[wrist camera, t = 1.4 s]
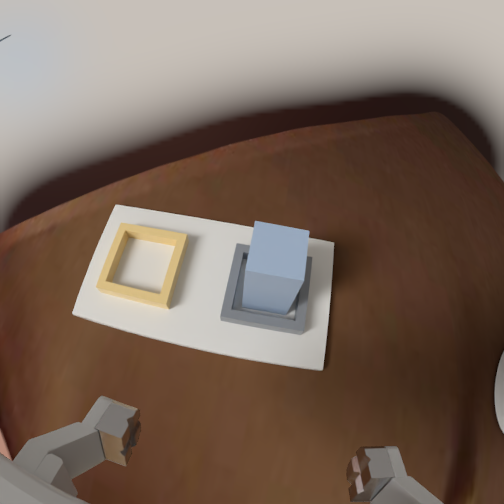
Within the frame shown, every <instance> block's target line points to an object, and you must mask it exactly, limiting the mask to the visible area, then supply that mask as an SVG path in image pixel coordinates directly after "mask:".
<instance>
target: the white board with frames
mask: <svg viewBox="0 0 504 504" xmlns="http://www.w3.org/2000/svg"><path fill="white" fill-rule="evenodd" d="M253 230H254V228H253V227H248V226H242V225H237V224H231V223H225V222H219V221H214V220H208V219H202V218H196V217H190V216H184V215H178V214H172V213H166V212H160V211H154V210H147V209H141V208H135V207H128V206H122V205H115V207H114V209H113V212H112V214H111V216H110V218H109V220H108V223H107V225H106V227H105V229H104V232H103V234H102V236H101V239H100V241H99V243H98V246H97V248H96V250H95V253H94V255H93V258H92V260H91V263H90V265H89V268H88V271H87V273H86V276H85V278H84V281H83V284H82V287H81V289H80V292H79V295H78V298H77V301H76V304H75V307H74V309H73V313H72V314H73V315H75V316H78V317H81V318H84V319H87V320H90V321H93V322H96V323H100V324H103V325H106V326H109V327H113V328H116V329H119V330H123V331H126V332H130V333H134V334H137V335H141V336H144V337H148V338H152V339H156V340H160V341H164V342H168V343H172V344H176V345H180V346H184V347H189V348H193V349H197V350H202V351H207V352H211V353H216V354H221V355H226V356H231V357H236V358H241V359H247V360H252V361H258V362H264V363H270V364H276V365H283V366H289V367H296V368H303V369H311V370H319V371H322V370H323V365H324V357H325V348H326V339H327V330H328V319H329V309H330V297H331V284H332V270H333V254H334V243H333V242H328V241H323V240H318V239H313V238H309V239H308V249H307V259H306V268H305V277H304V282H303V284H302V286H301V288H300V290H299V292H298V293H297V295H296V297H295V299H294V301H293V303H292V305H291V306H290V308H289V310H288V312H287V314H286V315H281V314H276V313H270V312H264V311H259V310H253V309H248V308H243V307H242V300H243V289H244V277H245V269H246V264H247V259H248V254H249V249H250V244H251V239H252V235H253Z"/></svg>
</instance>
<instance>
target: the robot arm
mask: <svg viewBox="0 0 504 504" xmlns="http://www.w3.org/2000/svg"><path fill="white" fill-rule="evenodd" d="M495 409H496V415H497V419H498V423H499V425H500V428H501V430H502V432H503V433H504V352H503V354H502V356H501V359H500V362H499V365H498V369H497V374H496V381H495ZM139 417H140V410H139V409H136V408H133V407H131V406H128V405H125V404H123V403H120V402H117V401H115V400H112V399H109V398H107V397H104V396H101V397H99V398H98V400H97V401H96V403H95V404H94V405H93V407H92V408H91V410H90V411H89V413H88V414H87V416H86V417H85V419H84V420H83V422H82V423H79V422H77V423H74V424H71V425H69V426H66V427H63V428H61V429H58V430H55V431H52V432H50V433H47V434H44V435H41V436H38V437H36V438H33V439H30V440H28V442H27V443H26V444H25V446H24V447H23V448H22V450H21V451H20V452H19V454H18V455H17V456H16V458H15V459H14V460H13V461H11V460H10V459H8V458H7V457H5V456H4V455H2V454H1V453H0V504H89V503H87V502H85V501H83V500H80V499H78V498H76V496H77V494H78V493H77V490H76V488H75V486H74V484H73V482H72V480H71V479H73V478H74V477H76V476H78V475H80V474H82V473H83V472H85V471H87V470H89V469H90V468H92V467H94V466H96V465H97V464H99V463H101V462H102V461H104V460H105V459H107V460H110V461H113V462H115V463H118V464H121V465H124V466H127V463H128V461H129V459H130V457H131V455H132V449H131V447H133V446H135V445H136V444H137V442H138V440H139V436H140V432H141V423H140V422H139V421H138V419H139ZM356 454H357V456H356V457H354V458H352V459H351V460H350V462H349V464H348V467H347V473H346V475H347V480H348V481H349V482H350V483H351V486H350V487H349V495H350V502H369V501H371V502H370V503H371V504H443V503H442V502H441V501H440V500H439V499H437V498H436V497H435V496H434V495H432V494H431V493H430V492H429V491H427V490H426V489H425V488H424V487H423V486H421V485H420V484H419V483H418V482H417V481H415V480H414V479H413V478H412V477H411V476H407V474H406V470H405V467H404V464H403V461H402V458H401V455H400V452H399V449H398V448H397V447H396V446H386V447H384V446H371V447H360V448H359V449H358V450H357V452H356Z"/></svg>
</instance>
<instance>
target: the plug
mask: <svg viewBox="0 0 504 504" xmlns="http://www.w3.org/2000/svg"><path fill="white" fill-rule="evenodd" d="M308 239H309V231H307V230H302V229H296V228H291V227H286V226H280V225H275V224H269V223H264V222H258V221H255V225H254V230H253V235H252V239H251V244H250V249H249V254H248V259H247V264H246V269H245V277H244V289H243V300H242V307H243V308H248V309H253V310H259V311H264V312H270V313H276V314H281V315H286V314H287V312H288V310H289V308H290V306H291V305H292V303H293V301H294V299H295V297H296V295H297V293H298V292H299V290H300V288H301V286H302V284H303V282H304V277H305V268H306V259H307V249H308Z"/></svg>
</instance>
